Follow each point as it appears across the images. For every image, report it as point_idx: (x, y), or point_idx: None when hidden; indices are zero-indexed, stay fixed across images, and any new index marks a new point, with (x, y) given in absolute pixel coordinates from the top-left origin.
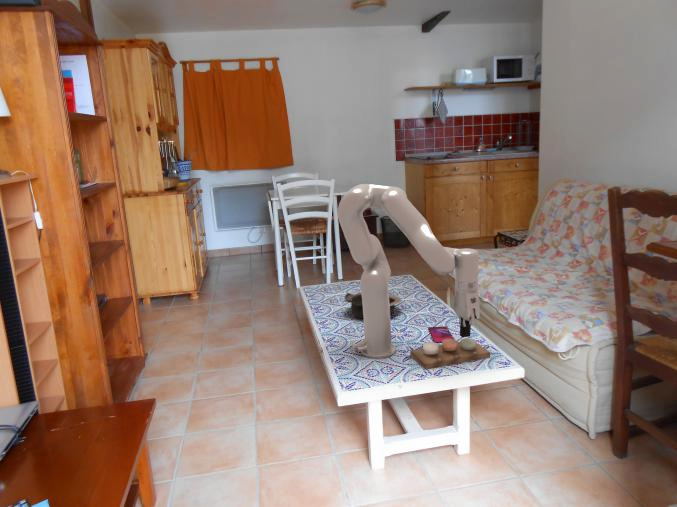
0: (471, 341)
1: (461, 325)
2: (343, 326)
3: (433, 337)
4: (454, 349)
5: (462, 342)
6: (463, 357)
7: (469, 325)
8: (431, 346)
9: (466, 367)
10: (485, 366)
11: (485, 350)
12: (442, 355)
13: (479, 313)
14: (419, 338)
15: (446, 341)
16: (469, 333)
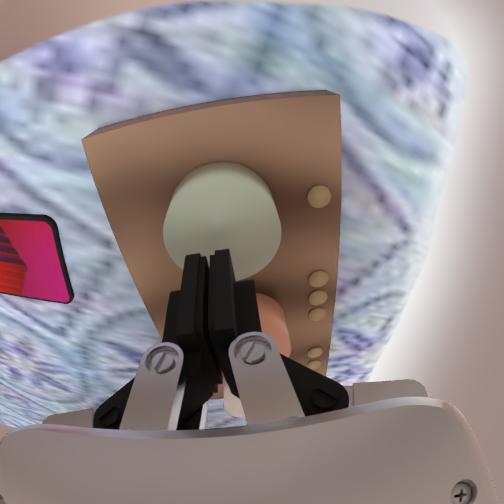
0: (238, 215)
1: (216, 388)
2: (21, 415)
3: (28, 294)
4: (283, 313)
5: (240, 277)
6: (336, 267)
7: (288, 365)
8: None
9: (375, 252)
10: (408, 170)
11: (303, 112)
12: None
13: (491, 479)
14: (39, 330)
15: None
16: (230, 271)
